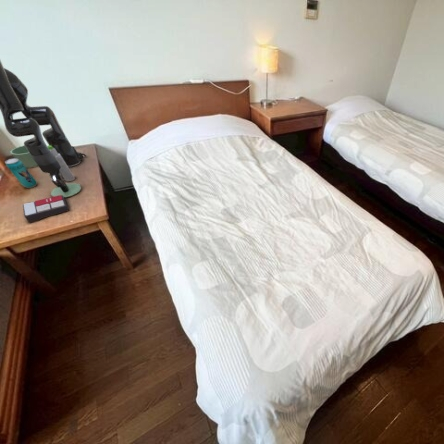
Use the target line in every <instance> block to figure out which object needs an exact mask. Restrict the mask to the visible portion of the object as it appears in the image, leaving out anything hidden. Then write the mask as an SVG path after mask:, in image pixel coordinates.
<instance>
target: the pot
mask: <svg viewBox="0 0 444 444" xmlns="http://www.w3.org/2000/svg"><path fill="white" fill-rule="evenodd" d="M9 152H10V153H9V154H11V156H12V157H13V158H17V159H19V160H20V161H21V162H22V163H23V164H24V166H25V167H26V168H27V169H28V168H29V169H30V168H36V167H39V166H38V165H37V164H36V162H35V161H34V159H33V158H32V156H31V154H30V153H29V151H28V150H27V148H26V147H25V145H24V144H23V145H19V146H17V147H14V148H13V149H11V150H10V151H9Z"/></svg>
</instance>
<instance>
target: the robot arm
mask: <svg viewBox="0 0 444 444" xmlns="http://www.w3.org/2000/svg"><path fill="white" fill-rule="evenodd" d="M28 97H29V89H28V87H27V86H26V85H25V83H24V82H23V81H22V80H21V78H19V76H17V75H16V74H15V73H14V72H12V70H11V71H10V70H9V69H7V68H6V67H4V65H3V62H2V60H1V59H0V112H1V115H2V118H3V123H4V127H5V130H6V131H7V133H8V134H10V136H13V137H15V138H20V137H21V138H22V137H28V136H34V137H31V138H29V139H26V140H24V142H23V146H24V145H25V147H26V148H27V150H28V151H29V153H30V154H31V156H32V158H33V159H34V161H35V162H36V164H37V165H38V166H37V167H38V168H39V169H40V171H41V172H42V173H45V174H48V175H49V177H50V179H52V180H51V182H52V184H54V185H55V186H56V187H60V188H61V190H62V191H63V192H67V191H68V189H67V187H68V186H67V184H68V183H67V182H66V180H65V179H64V177H63V175H62V173H61V171H60V168H61V166H60V164H59V163H58V161H57V160H56V158H55V156H54V155H53V154H52V152H51V151H50V150H49V148H48V147H47V146H49V145H51V146H52V147H53V148H55V150H56V151H57V153H59V154H60V155H61V157H62V158H63V160H64V161H65V163H66V164H67V166H68V168H73V167H75V166H78V165H80V164H81V162H82V159H83V158H85V157H87V155H86V154H85V153H82V152H78V151H77V150H76V148H75V146H73V145H72V144H71V143H70V141H69V139H68V137H67V135H66V134H65V132H64V130H63V128H62V126H61V123H60V122H59V120H58V118H57V116H56V115H55V113H54V111H53V110H52V108H51V107H49V106H47V105H41V106H30V105H29V104H28ZM18 113H21V114H22V115H23V116H24V117H22V118H14V115H16V114H18ZM40 126H41V127H42V126H50V127H49V128H48V129H45V130H43V132H42V130H41V127H40ZM45 141H46V142H45ZM47 144H48V145H47ZM63 182H64V183H65V184H66V186H67V187H66V186H65V184H64V183H63Z"/></svg>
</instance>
